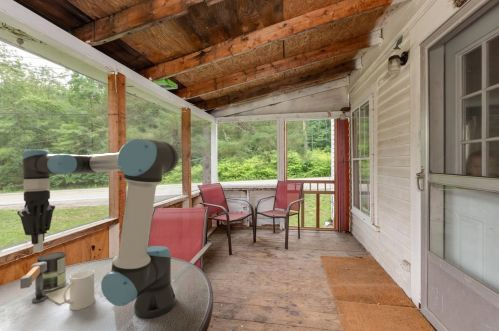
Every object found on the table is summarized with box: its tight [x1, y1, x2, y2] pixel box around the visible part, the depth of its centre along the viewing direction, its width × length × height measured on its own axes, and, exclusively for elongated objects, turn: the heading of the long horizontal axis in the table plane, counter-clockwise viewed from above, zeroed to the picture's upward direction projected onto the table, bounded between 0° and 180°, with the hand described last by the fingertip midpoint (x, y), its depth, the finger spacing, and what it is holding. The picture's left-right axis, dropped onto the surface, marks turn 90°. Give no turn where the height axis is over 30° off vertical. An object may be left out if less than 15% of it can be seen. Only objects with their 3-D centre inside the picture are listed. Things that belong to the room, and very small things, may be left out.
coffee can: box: [36, 251, 67, 292], centre depth 111 cm, size 10×10×14 cm
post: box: [31, 272, 47, 304], centre depth 99 cm, size 4×4×12 cm
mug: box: [63, 269, 96, 311], centre depth 94 cm, size 12×8×12 cm
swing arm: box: [19, 262, 47, 290], centre depth 93 cm, size 17×5×4 cm, turn 26°
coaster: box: [45, 286, 70, 306], centre depth 104 cm, size 13×13×1 cm
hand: (38, 251), depth 91 cm, fingers closed
